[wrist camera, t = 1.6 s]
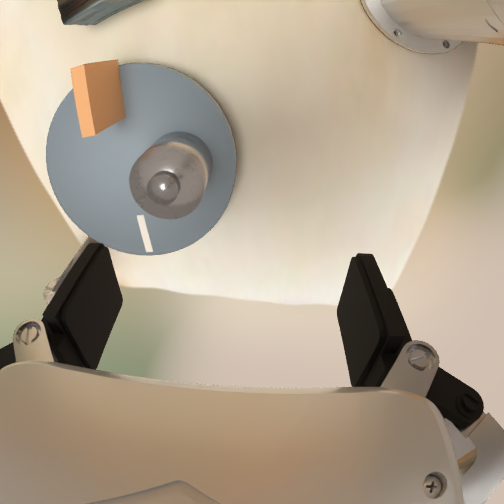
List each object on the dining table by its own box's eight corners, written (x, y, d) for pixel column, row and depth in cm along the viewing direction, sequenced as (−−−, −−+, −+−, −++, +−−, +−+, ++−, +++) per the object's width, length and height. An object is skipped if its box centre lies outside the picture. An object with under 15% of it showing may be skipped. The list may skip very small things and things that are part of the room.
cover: (209, 128, 25) (196, 147, 20) (216, 191, 29) (206, 224, 24) (143, 135, 25) (117, 157, 21) (154, 195, 29) (134, 227, 24)
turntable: (228, 42, 22) (217, 36, 16) (243, 244, 34) (240, 292, 28) (37, 86, 23) (-11, 103, 17) (82, 250, 35) (55, 291, 29)
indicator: (104, 234, 35) (63, 299, 26) (109, 247, 37) (71, 313, 27) (79, 236, 36) (35, 297, 26) (84, 249, 37) (43, 311, 27)
